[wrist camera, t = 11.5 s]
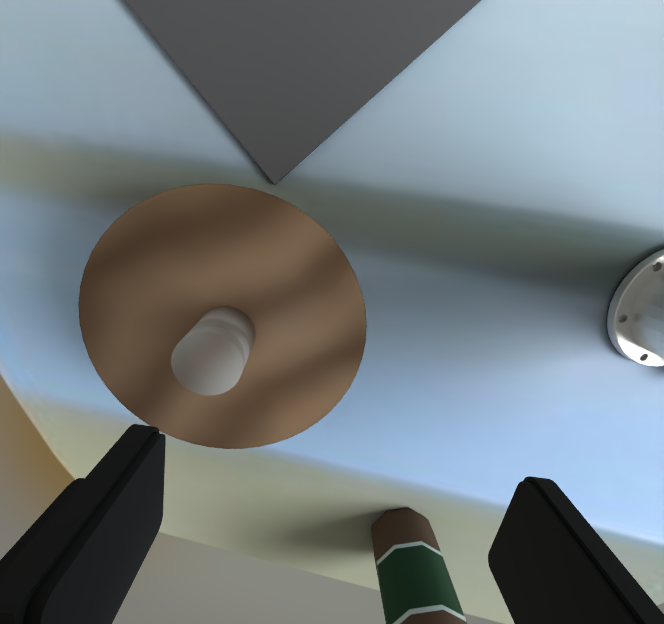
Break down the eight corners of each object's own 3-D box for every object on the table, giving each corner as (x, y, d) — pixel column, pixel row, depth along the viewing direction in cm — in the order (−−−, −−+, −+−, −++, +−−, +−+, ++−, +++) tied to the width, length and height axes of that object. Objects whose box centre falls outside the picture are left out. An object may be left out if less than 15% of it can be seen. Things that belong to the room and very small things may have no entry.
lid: (415, 340, 27) (444, 380, 21) (229, 478, 30) (209, 546, 24) (233, 115, 21) (203, 81, 15) (29, 312, 24) (-62, 347, 18)
